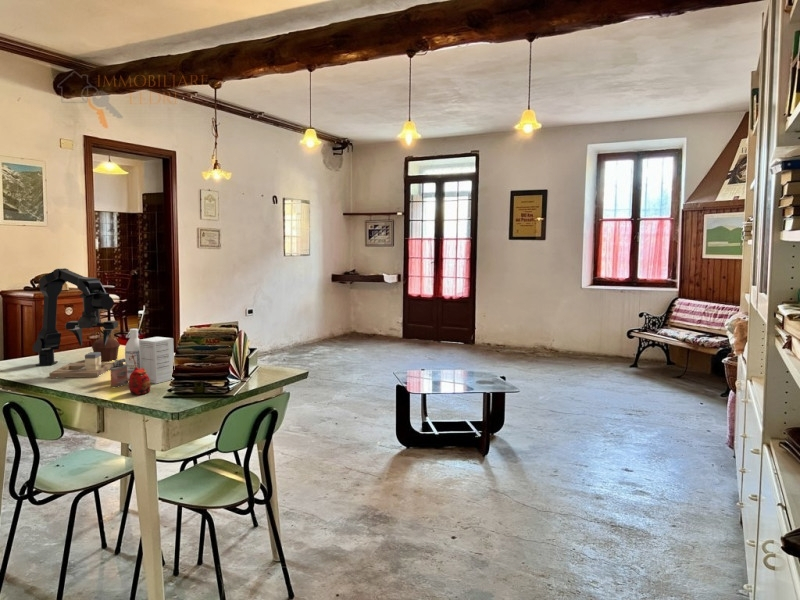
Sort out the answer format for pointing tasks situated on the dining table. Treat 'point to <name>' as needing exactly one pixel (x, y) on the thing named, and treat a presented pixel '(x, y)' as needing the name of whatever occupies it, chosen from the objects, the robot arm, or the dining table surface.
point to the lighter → (119, 373)
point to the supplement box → (157, 358)
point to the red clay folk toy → (139, 380)
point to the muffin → (106, 349)
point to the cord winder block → (93, 361)
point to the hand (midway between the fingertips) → (92, 345)
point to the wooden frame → (80, 370)
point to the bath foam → (132, 348)
